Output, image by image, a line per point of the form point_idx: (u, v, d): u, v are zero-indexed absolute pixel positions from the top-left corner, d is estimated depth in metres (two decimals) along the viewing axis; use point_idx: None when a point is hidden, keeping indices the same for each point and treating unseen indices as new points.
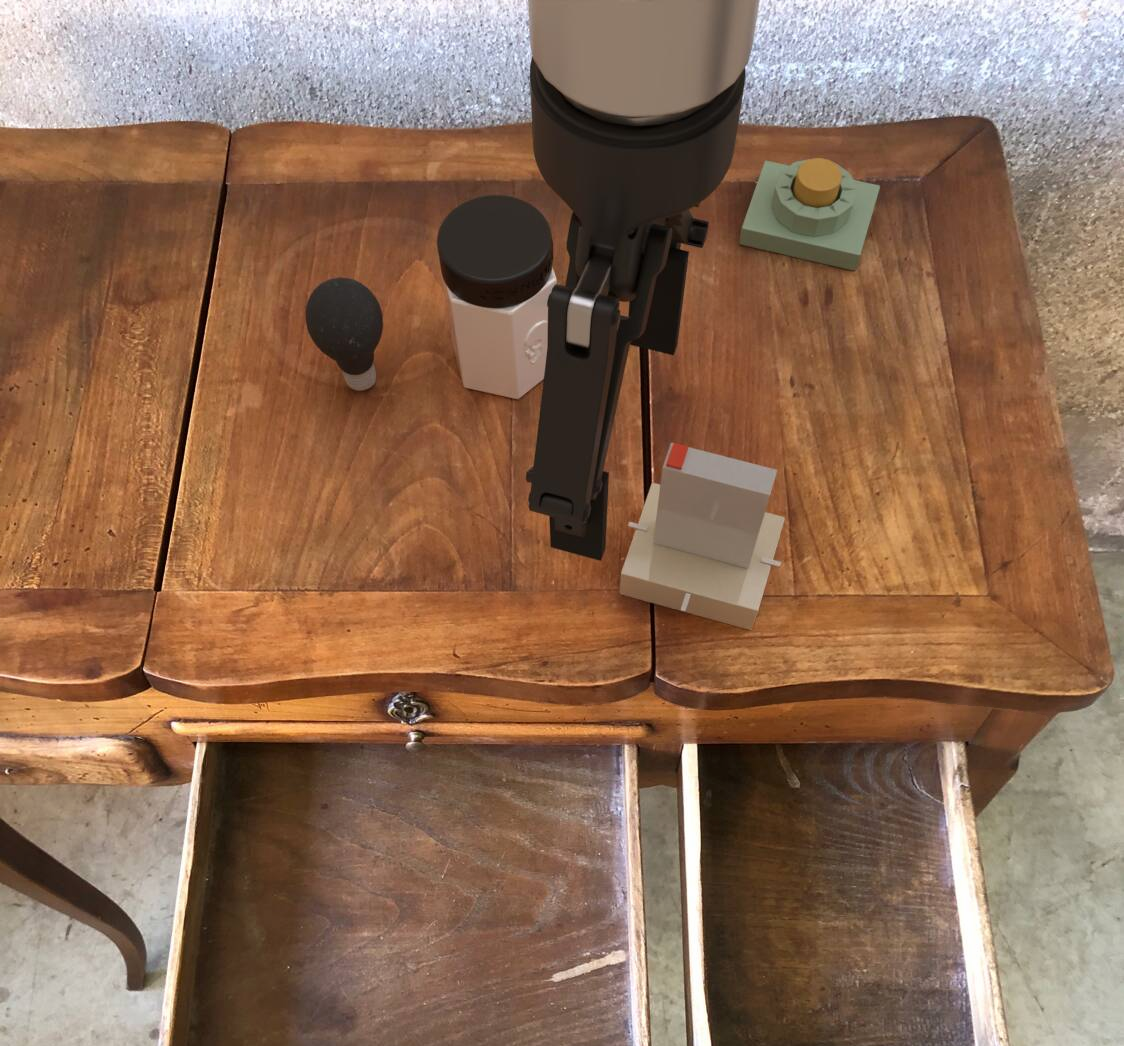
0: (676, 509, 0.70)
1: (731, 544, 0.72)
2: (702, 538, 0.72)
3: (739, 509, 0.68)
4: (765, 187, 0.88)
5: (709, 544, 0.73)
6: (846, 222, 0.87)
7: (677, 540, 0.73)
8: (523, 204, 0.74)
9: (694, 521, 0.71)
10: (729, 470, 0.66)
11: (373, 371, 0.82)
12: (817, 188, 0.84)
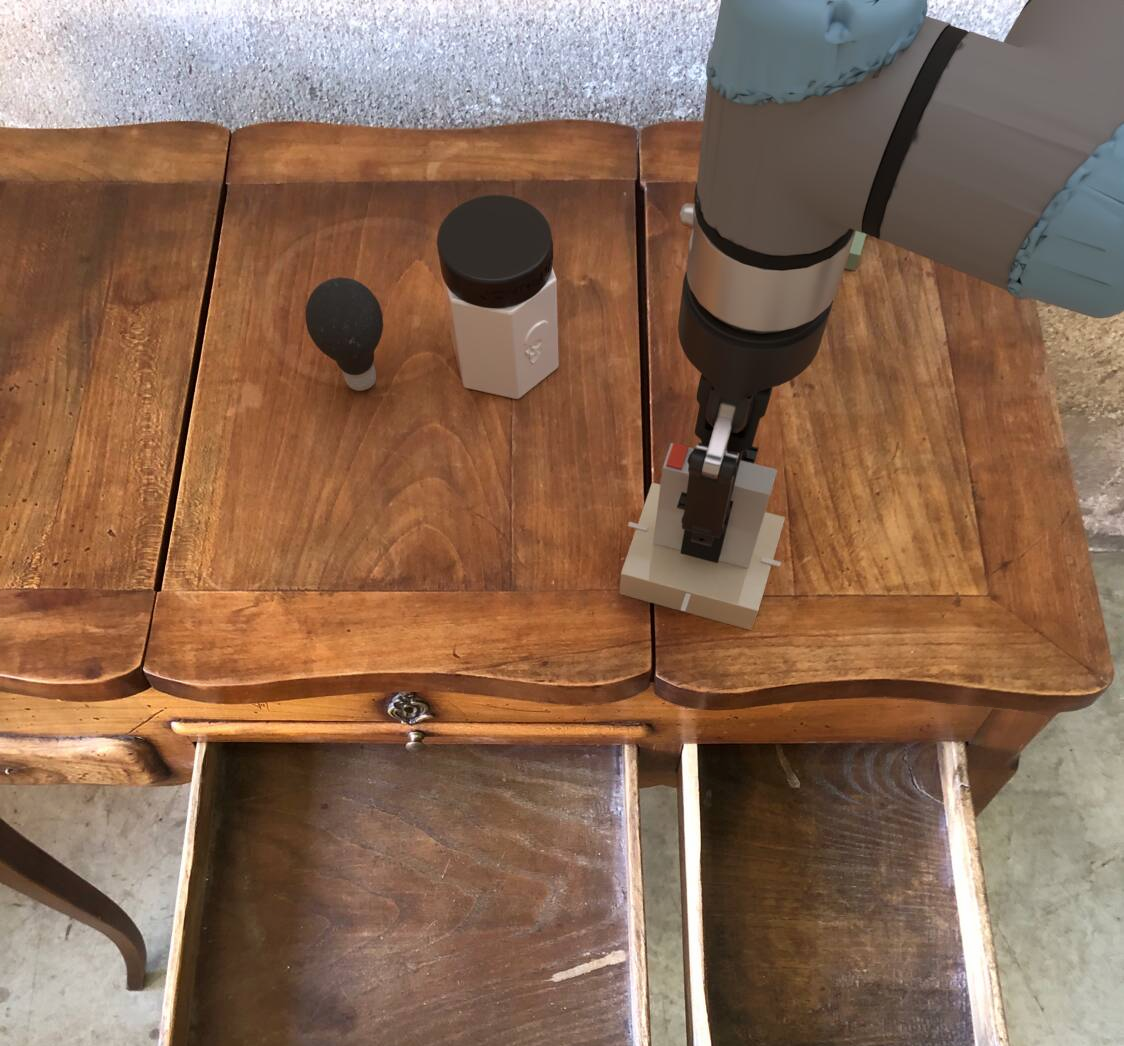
0: (676, 509, 0.70)
1: (731, 544, 0.72)
2: None
3: (739, 509, 0.68)
4: None
5: None
6: None
7: (677, 540, 0.73)
8: (523, 204, 0.74)
9: None
10: None
11: (373, 371, 0.82)
12: None
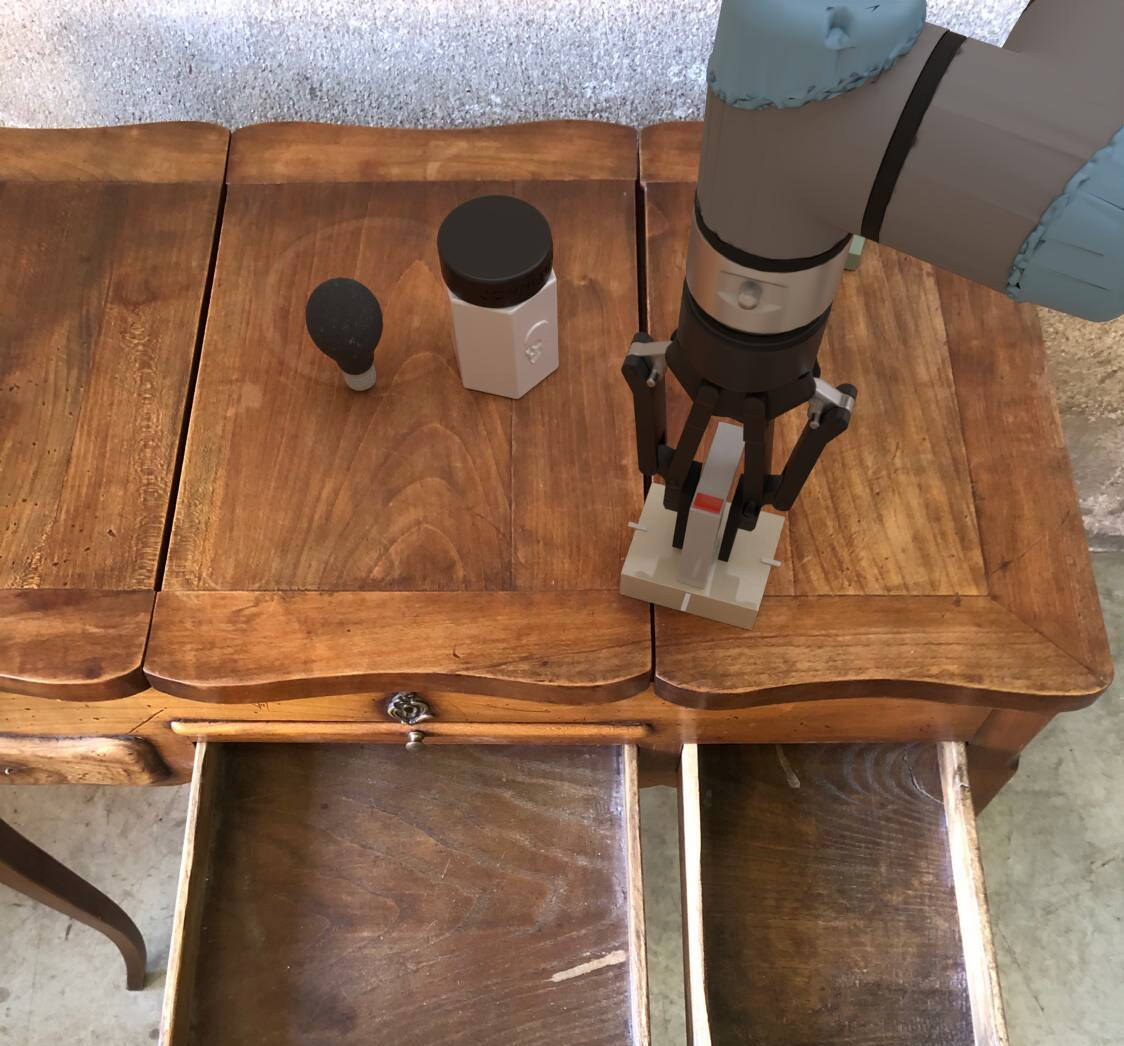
0: (717, 536, 0.69)
1: (729, 506, 0.73)
2: (721, 531, 0.72)
3: (737, 470, 0.69)
4: None
5: (722, 529, 0.73)
6: None
7: (712, 559, 0.73)
8: (523, 204, 0.74)
9: (721, 527, 0.70)
10: (722, 460, 0.66)
11: (373, 371, 0.82)
12: None
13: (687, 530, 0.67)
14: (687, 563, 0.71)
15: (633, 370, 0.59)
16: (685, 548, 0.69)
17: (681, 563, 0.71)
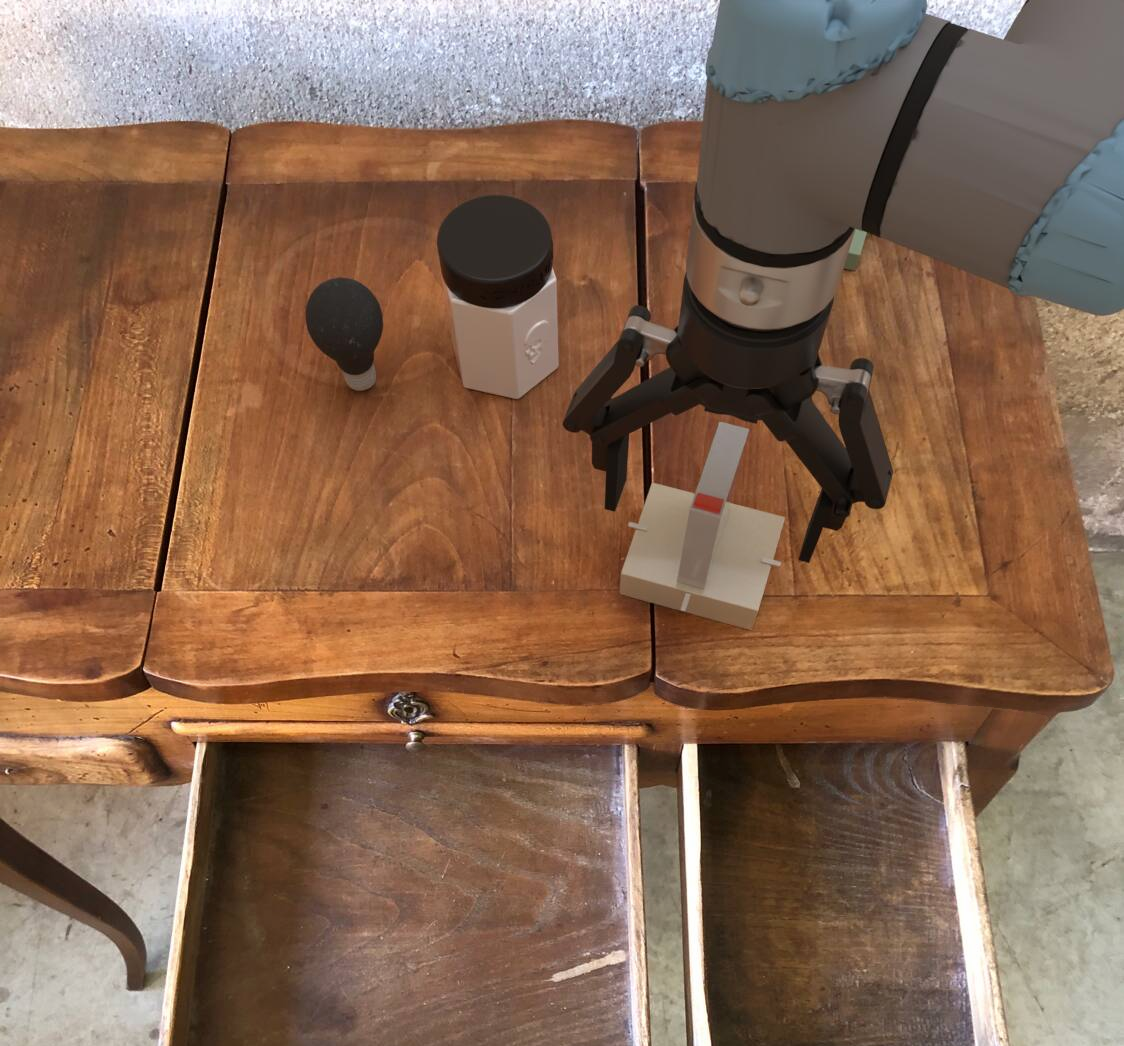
0: (717, 536, 0.69)
1: (729, 506, 0.73)
2: (721, 531, 0.72)
3: (737, 470, 0.69)
4: None
5: (722, 529, 0.73)
6: None
7: (712, 559, 0.73)
8: (523, 204, 0.74)
9: (721, 527, 0.70)
10: (722, 460, 0.66)
11: (373, 371, 0.82)
12: None
13: (687, 530, 0.67)
14: (687, 563, 0.71)
15: (631, 346, 0.57)
16: (685, 548, 0.69)
17: (681, 563, 0.71)
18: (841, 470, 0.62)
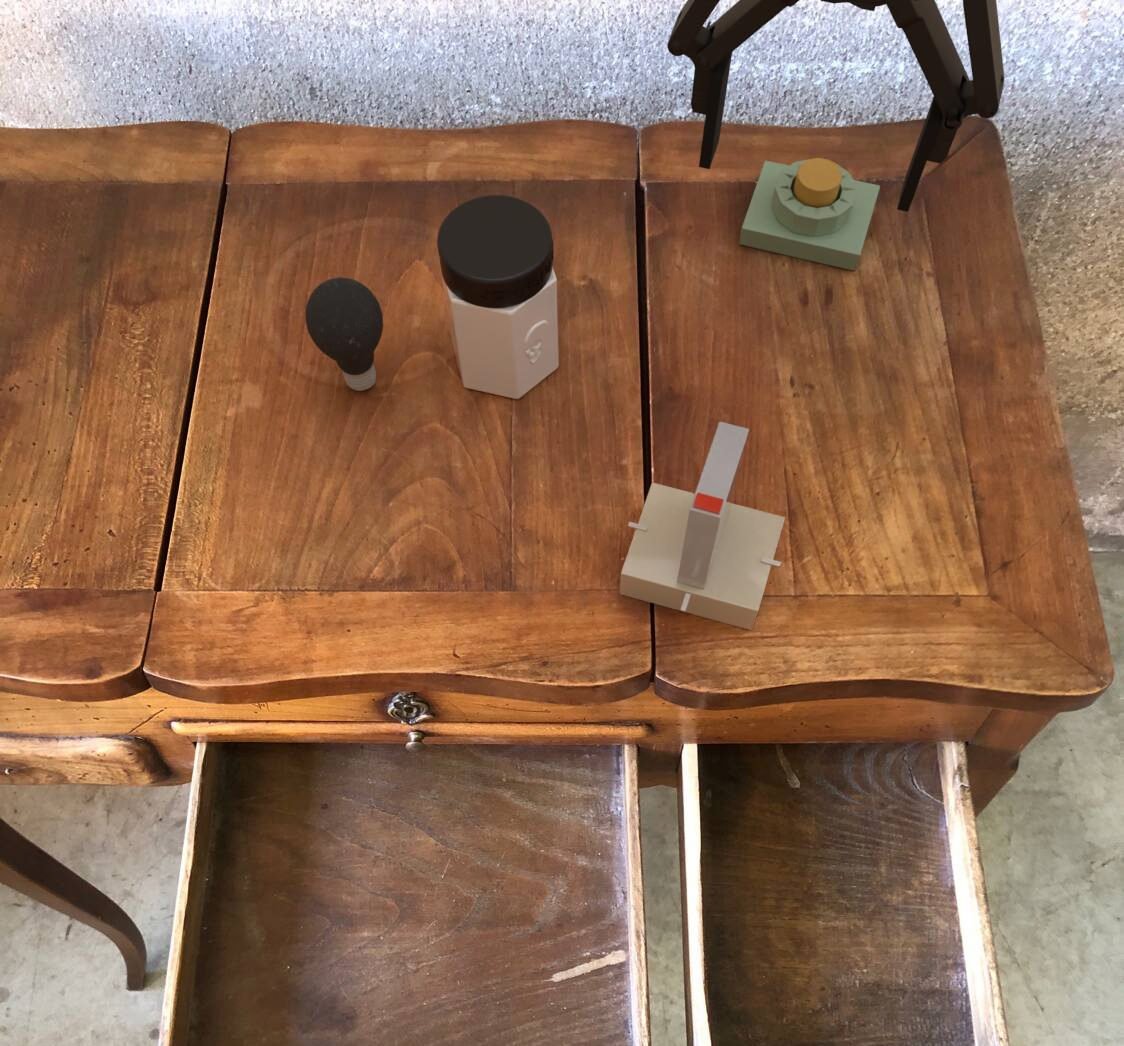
0: (717, 536, 0.69)
1: (729, 506, 0.73)
2: (721, 531, 0.72)
3: (737, 470, 0.69)
4: (765, 187, 0.88)
5: (722, 529, 0.73)
6: (846, 222, 0.87)
7: (712, 559, 0.73)
8: (523, 204, 0.74)
9: (721, 527, 0.70)
10: (722, 460, 0.66)
11: (373, 371, 0.82)
12: (817, 188, 0.84)
13: (687, 530, 0.67)
14: (687, 563, 0.71)
15: None
16: (685, 548, 0.69)
17: (681, 563, 0.71)
18: (954, 73, 0.62)
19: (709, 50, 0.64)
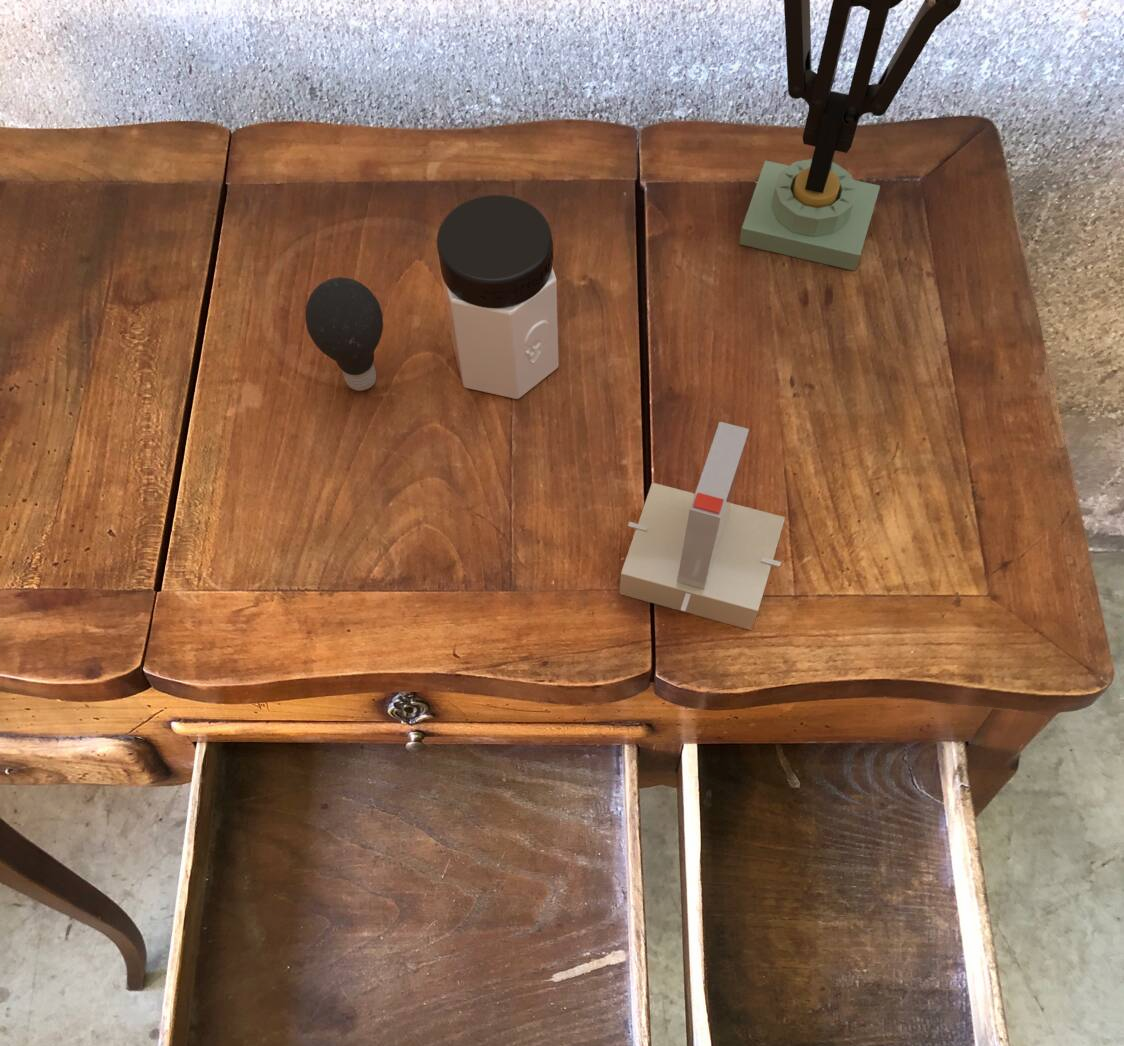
0: (717, 536, 0.69)
1: (729, 506, 0.73)
2: (721, 531, 0.72)
3: (737, 470, 0.69)
4: (765, 187, 0.88)
5: (722, 529, 0.73)
6: (846, 222, 0.87)
7: (712, 559, 0.73)
8: (523, 204, 0.74)
9: (721, 527, 0.70)
10: (722, 460, 0.66)
11: (373, 371, 0.82)
12: (815, 197, 0.85)
13: (687, 530, 0.67)
14: (687, 563, 0.71)
15: None
16: (685, 548, 0.69)
17: (681, 563, 0.71)
18: (868, 82, 0.76)
19: (815, 93, 0.77)
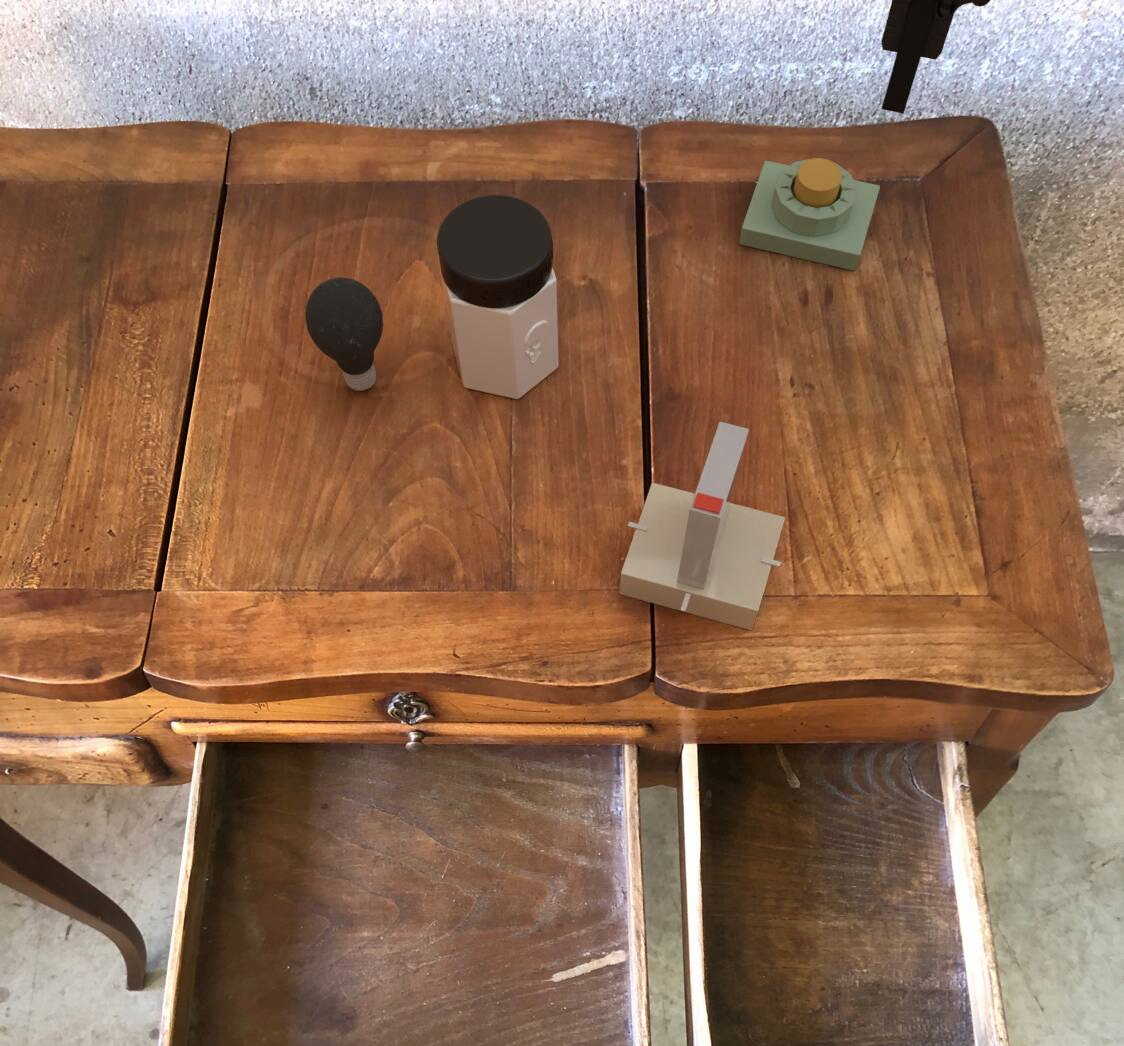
0: (717, 536, 0.69)
1: (729, 506, 0.73)
2: (721, 531, 0.72)
3: (737, 470, 0.69)
4: (765, 187, 0.88)
5: (722, 529, 0.73)
6: (846, 222, 0.87)
7: (712, 559, 0.73)
8: (523, 204, 0.74)
9: (721, 527, 0.70)
10: (722, 460, 0.66)
11: (373, 371, 0.82)
12: (817, 188, 0.84)
13: (687, 530, 0.67)
14: (687, 563, 0.71)
15: None
16: (685, 548, 0.69)
17: (681, 563, 0.71)
18: None
19: None
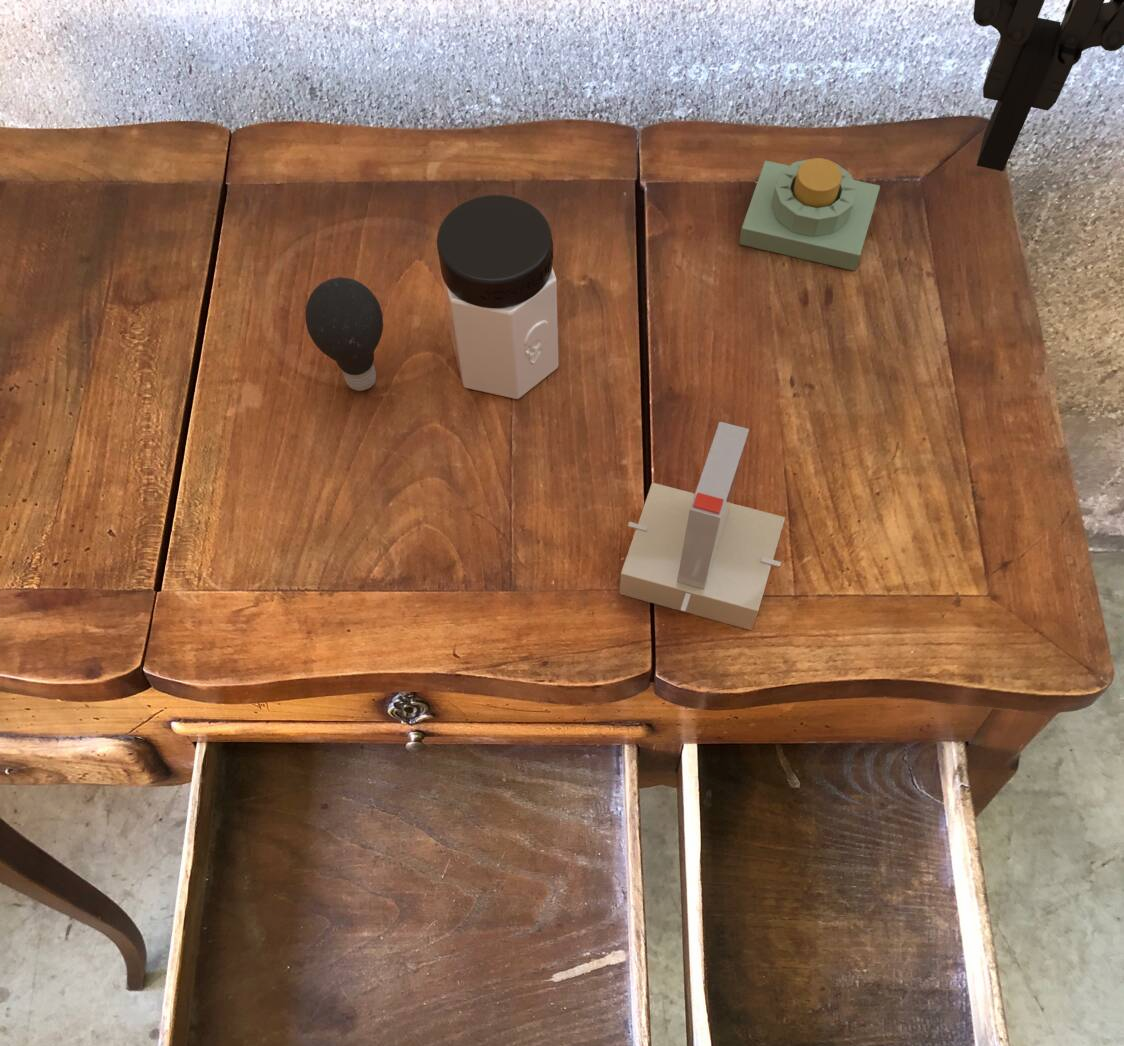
0: (717, 536, 0.69)
1: (729, 506, 0.73)
2: (721, 531, 0.72)
3: (737, 470, 0.69)
4: (765, 187, 0.88)
5: (722, 529, 0.73)
6: (846, 222, 0.87)
7: (712, 559, 0.73)
8: (523, 204, 0.74)
9: (721, 527, 0.70)
10: (722, 460, 0.66)
11: (373, 371, 0.82)
12: (817, 188, 0.84)
13: (687, 530, 0.67)
14: (687, 563, 0.71)
15: None
16: (685, 548, 0.69)
17: (681, 563, 0.71)
18: None
19: (1017, 17, 0.51)
